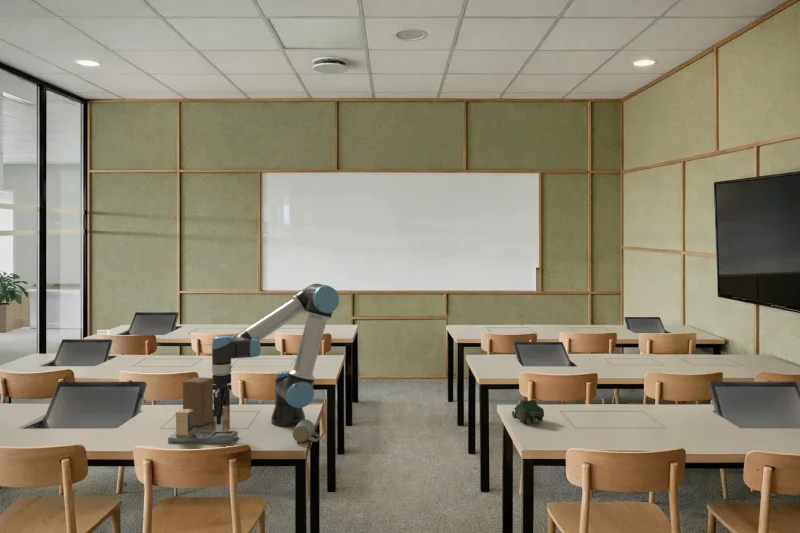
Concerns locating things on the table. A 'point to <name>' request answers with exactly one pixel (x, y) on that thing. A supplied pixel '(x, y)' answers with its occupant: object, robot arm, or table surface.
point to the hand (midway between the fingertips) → (221, 429)
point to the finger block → (225, 418)
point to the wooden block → (199, 399)
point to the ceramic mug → (305, 431)
